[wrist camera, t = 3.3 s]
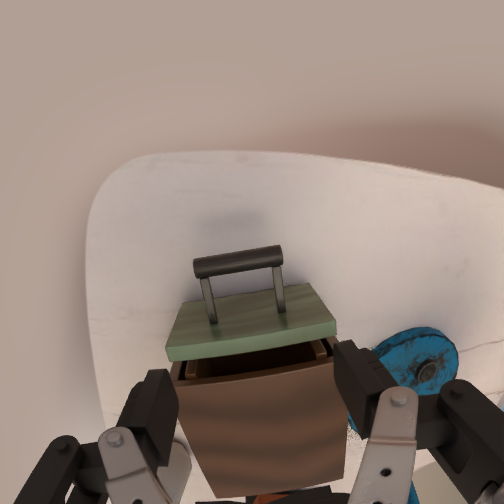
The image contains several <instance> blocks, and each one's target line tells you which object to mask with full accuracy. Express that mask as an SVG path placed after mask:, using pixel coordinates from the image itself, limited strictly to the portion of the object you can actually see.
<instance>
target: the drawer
mask: <svg viewBox="0 0 504 504" xmlns="http://www.w3.org/2000/svg"><path fill="white" fill-rule="evenodd" d="M280 265H283V254H282V249H281V246H280V245H274V246H268V247H262V248H256V249H250V250H244V251H238V252H232V253H226V254H219V255H213V256H207V257H201V258H195V259H194V260H193V268H194V273H195V276H196V278H197V279H199V278H200V283H201V288H202V292H203V297H204V300H202V301H196V302H189V303H182V305H181V308H180V310H179V313H178V315H177V318H176V320H175V323H174V325H173V328H172V331H171V333H170V336H169V339H168V341H167V344H166V346H165V349H166V352H167V355H168V359H169V361H170V362H175V361H185V360H188V363H187V368H186V372H185V377H186V380H191V379H201V378H210V377H218V376H226V375H234V374H241V373H247V372H254V371H260V370H266V369H272V368H278V367H283V366H289V365H294V364H299V363H304V362H309V361H313V360H318V359H323V358H327V352H326V350H325V348H324V346H323V345H322V343H321V341H320V339H322V338H327V337H331V336H336V335H337V333H336V320H335V318H334V317H333V316H332V314H331V313H330V311H329V310H328V309H327V307H326V306H325V304H324V303H323V302H322V300H321V299H320V297H319V296H318V295H317V293H316V292H315V290H314V289H313V288H312V286H311V285H310V284H309V283H305V284H299V285H294V286H288V287H283V281H282V273H281V266H280ZM267 267H271V269H272V276H273V283H274V289H271V290H265V291H259V292H253V293H247V294H241V295H235V296H228V297H222V298H216V299H213V294H212V289H211V285H210V280H209V277H212V276H218V275H224V274H231V273H237V272H243V271H249V270H255V269H261V268H267Z"/></svg>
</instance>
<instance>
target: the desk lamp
mask: <svg viewBox="0 0 504 504" xmlns="http://www.w3.org/2000/svg"><path fill="white" fill-rule="evenodd" d="M372 352H374V353H375V354H376V355H377V357H378V358H379V359H380V361H381V362H382V363H383V364H384V367H386V368H387V370H388V371H389V372H390V374H391V375H392V376H393V378H394V379H395V380H396V382H397V383H398V384H399V386H402V387H408V388H410V389H412V390H414V391H415V392H416V393H417V395H429V394H436V393H439V392H440V388H441V386H442V385H443V384H444V383H446V382H447V381H450V380H454V379H455V378H456V375H457V370H458V365H459V362H458V352H457V350H456V347H455V345H454V343H453V342H451V341H450V340H449V339H448V338H447V337H446V336H445V335H444V334H443V333H442V332H440V331H439V330H436V329H433V328H430V327H419V328H412V329H409V330H406V331H403V332H400V333H398V334H396V335H394V336H392V337H391V338H389V339H387V340H385V341H383V342H382V343H381V344H380V345H378V346H377V347H376V348H375V349H373V350H372ZM348 423H349V424H350V426H351V428H352V429H353V430H355V431H356V432H357V433H358V431H357V429H356V427H355V424H354V422H353V420H352V418H351V416H350V414H349V412H348ZM358 434H359V433H358ZM369 438H370V437H369ZM407 504H420V503H419V500H418V497H417V494H416V491H415V488H414V485H413V482H412V481H411V486H410V492H409V497H408V501H407Z"/></svg>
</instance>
